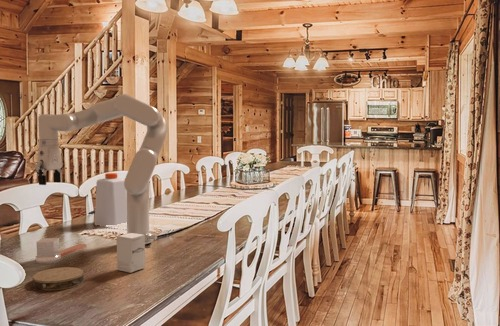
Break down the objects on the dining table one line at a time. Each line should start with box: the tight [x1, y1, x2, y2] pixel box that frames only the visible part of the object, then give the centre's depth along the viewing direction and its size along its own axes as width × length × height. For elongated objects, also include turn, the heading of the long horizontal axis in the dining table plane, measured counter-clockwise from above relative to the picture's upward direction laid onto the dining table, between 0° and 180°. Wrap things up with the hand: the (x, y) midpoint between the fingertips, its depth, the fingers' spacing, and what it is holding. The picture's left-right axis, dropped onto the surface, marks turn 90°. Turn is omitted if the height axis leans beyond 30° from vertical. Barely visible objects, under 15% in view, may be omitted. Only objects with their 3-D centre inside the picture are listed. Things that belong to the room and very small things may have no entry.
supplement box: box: [116, 233, 146, 274], centre depth 179 cm, size 7×7×13 cm
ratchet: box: [35, 243, 87, 265], centre depth 198 cm, size 9×26×6 cm, turn 164°
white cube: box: [36, 237, 61, 258], centre depth 190 cm, size 6×6×6 cm
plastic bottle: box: [94, 172, 127, 227], centre depth 256 cm, size 15×15×28 cm
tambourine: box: [32, 266, 84, 291], centre depth 165 cm, size 16×16×3 cm
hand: (50, 183), depth 210 cm, fingers open, 9 cm apart
